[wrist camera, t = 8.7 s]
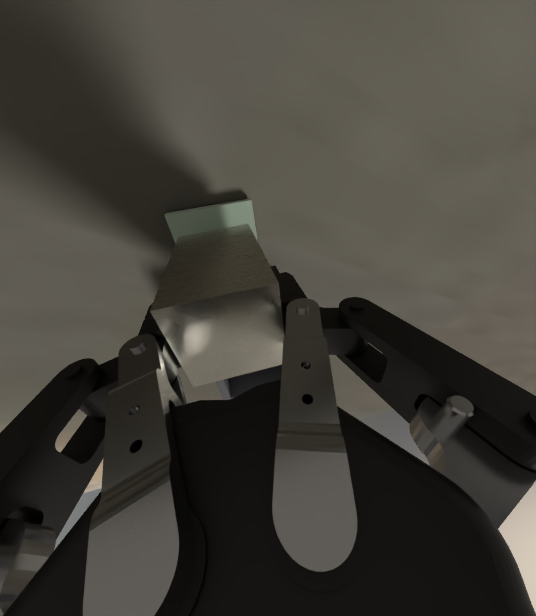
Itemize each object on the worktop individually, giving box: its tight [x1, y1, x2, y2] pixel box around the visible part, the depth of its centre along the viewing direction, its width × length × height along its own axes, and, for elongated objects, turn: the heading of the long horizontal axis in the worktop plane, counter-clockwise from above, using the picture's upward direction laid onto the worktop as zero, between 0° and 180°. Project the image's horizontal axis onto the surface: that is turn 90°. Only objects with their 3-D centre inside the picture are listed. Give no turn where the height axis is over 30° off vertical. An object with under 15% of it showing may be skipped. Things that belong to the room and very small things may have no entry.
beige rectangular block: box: [150, 224, 285, 387], centre depth 12 cm, size 4×4×8 cm
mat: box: [164, 199, 258, 244], centre depth 17 cm, size 6×6×1 cm
